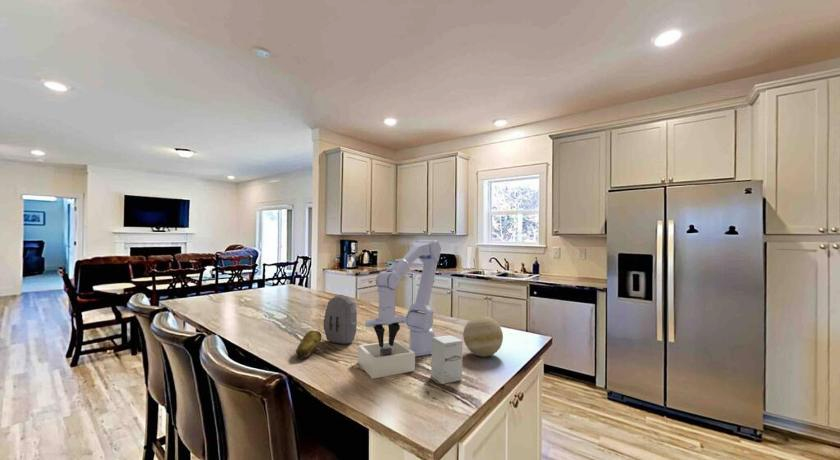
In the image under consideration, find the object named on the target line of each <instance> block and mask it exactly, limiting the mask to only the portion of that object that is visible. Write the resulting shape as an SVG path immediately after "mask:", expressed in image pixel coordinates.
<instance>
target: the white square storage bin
mask: <svg viewBox="0 0 840 460" xmlns="http://www.w3.org/2000/svg"><path fill="white" fill-rule="evenodd" d="M383 347H390V348H392V355H389V356H383V357H380V348H382V347H380V346H379V342H373V343H369V344H368V343H367V344H360V345H358V346H357V349H358V351H357V363H358V364H359V366H360V367H361V368H362V369H363V370H364V371H365V372H366V374H368V376H369V377H370V378H371V379H378V378H382V377H389V376H393V375H400V374H405V373H410V372H415V371H416V356H415V352H413V351H412V350H410V349H409V347H408V346H406V345H404V344H403V343H402V342H401V341H399V340H394V343H393V346H390V345H389V340H388V341H383ZM393 354H394V355H393ZM375 357H376V358H375Z"/></svg>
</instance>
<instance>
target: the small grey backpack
mask: <svg viewBox="0 0 840 460" xmlns="http://www.w3.org/2000/svg"><path fill="white" fill-rule="evenodd" d="M357 314H358V311H357V305H356V302H355V301H354V300H353V298H352V297H350V296H348V295H344V294H337V295H334V296H333V297H332V298H331V299H329V301H328V302H327V305H326V309H325V313H324V319H323V330H324V334H325V337H326V340H327V341H329V342H331V343H335V344H343V345H344V344H345V345H346V344H352V343H353V342H354V339H355V336H356V334H357V325H358V324H357V323H358V319H357V316H358V315H357Z"/></svg>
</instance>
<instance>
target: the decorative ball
mask: <svg viewBox="0 0 840 460" xmlns="http://www.w3.org/2000/svg"><path fill="white" fill-rule="evenodd" d="M462 334H463V335H462V336H463V342H464V345H465V346H466V348H467V349H468V351H469V352H471V353H472V354H473V355H475V356H479V357H481V358H482V357H484V358H485V357H491V356H493V355H495V354H496V353H497V352H498V351H499V350H500V349H501V347H502V344H503V340H504V335H503V331H502V328H501V326H500V324H499V323H498V322H497V321H496V320H495V319H494V318H492V317H490V316H486V315H478V316H474V317H471V319H469V320H468V322H467V323H466V324H465V326H464V328H463V333H462Z"/></svg>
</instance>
